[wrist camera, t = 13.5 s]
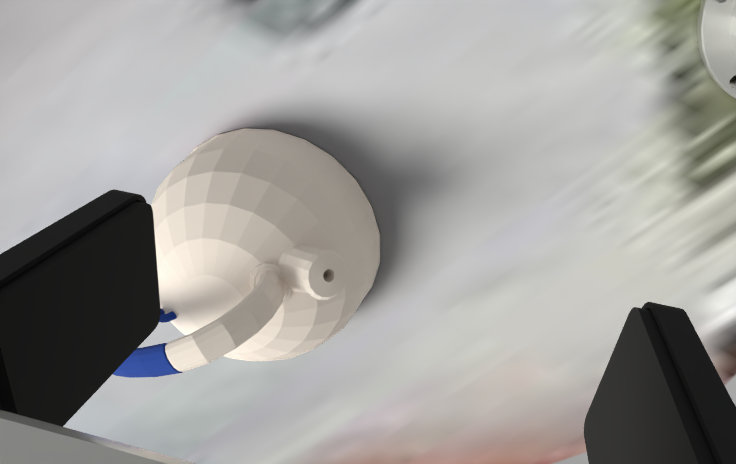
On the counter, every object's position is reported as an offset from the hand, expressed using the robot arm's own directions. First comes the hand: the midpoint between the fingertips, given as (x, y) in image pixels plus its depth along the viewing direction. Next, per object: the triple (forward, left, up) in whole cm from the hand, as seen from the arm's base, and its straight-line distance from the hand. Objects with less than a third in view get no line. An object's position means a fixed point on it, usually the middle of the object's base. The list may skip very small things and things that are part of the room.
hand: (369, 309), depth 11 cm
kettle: (+14, +18, -33) cm, 40 cm away
